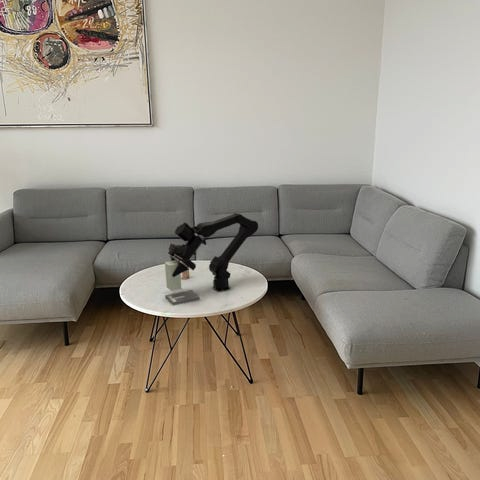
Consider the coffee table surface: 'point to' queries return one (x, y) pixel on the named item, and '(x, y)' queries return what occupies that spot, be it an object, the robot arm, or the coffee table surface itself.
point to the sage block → (171, 281)
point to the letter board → (182, 297)
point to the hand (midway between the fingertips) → (170, 274)
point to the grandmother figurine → (185, 275)
